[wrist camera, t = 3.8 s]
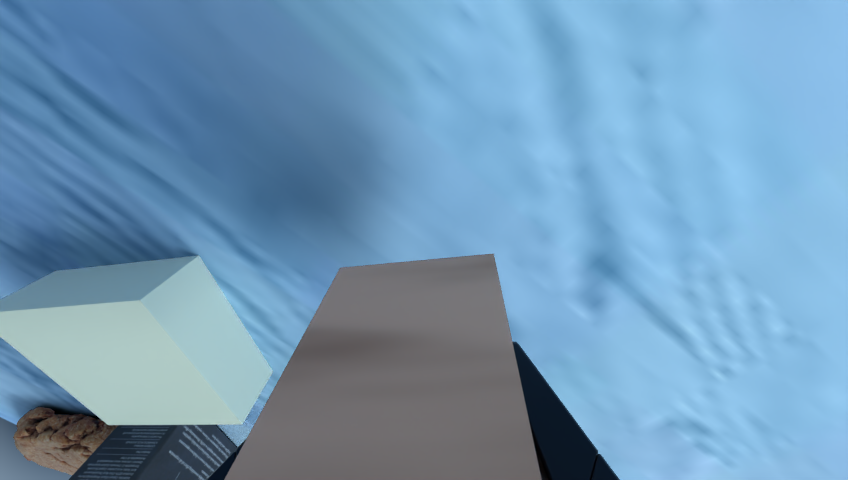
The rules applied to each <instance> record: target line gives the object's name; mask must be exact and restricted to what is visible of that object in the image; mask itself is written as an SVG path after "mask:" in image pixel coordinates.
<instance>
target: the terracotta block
mask: <svg viewBox="0 0 848 480" xmlns="http://www.w3.org/2000/svg"><path fill="white" fill-rule="evenodd" d="M224 480H542V479H541V474H540V470H539V465H538V460H537V456H536V451H535V446H534V442H533V437H532V432H531V427H530V423H529V418H528V413H527V409H526V404H525V399H524V394H523V390H522V385H521V380H520V376H519V371H518V366H517V362H516V357H515V352H514V347H513V343H512V338H511V333H510V329H509V324H508V319H507V315H506V310H505V305H504V300H503V296H502V291H501V286H500V282H499V277H498V272H497V268H496V263H495V258H494V254H485V255H474V256H463V257H452V258H441V259H431V260H420V261H409V262H398V263H387V264H376V265H365V266H354V267H343V268H340V269H339V271H338V273H337V275H336V277H335V278H334V280H333V282H332V284H331V286H330V287H329V289H328V291H327V293H326V295H325V297H324V298H323V300H322V302H321V304H320V306H319V308H318V309H317V311H316V313H315V315H314V317H313V319H312V320H311V322H310V324H309V326H308V328H307V329H306V331H305V333H304V335H303V337H302V339H301V340H300V342H299V344H298V346H297V348H296V350H295V351H294V353H293V355H292V357H291V359H290V361H289V362H288V364H287V366H286V368H285V370H284V371H283V373H282V375H281V377H280V379H279V381H278V382H277V384H276V386H275V388H274V390H273V392H272V393H271V395H270V397H269V399H268V401H267V403H266V404H265V406H264V408H263V410H262V412H261V414H260V415H259V417H258V419H257V421H256V423H255V424H254V426H253V428H252V430H251V432H250V434H249V435H248V437H247V439H246V441H245V443H244V445H243V446H242V448H241V450H240V452H239V454H238V456H237V457H236V459H235V461H234V463H233V465H232V466H231V468H230V470H229V472H228V474H227V476H226V477H225V479H224Z"/></svg>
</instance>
